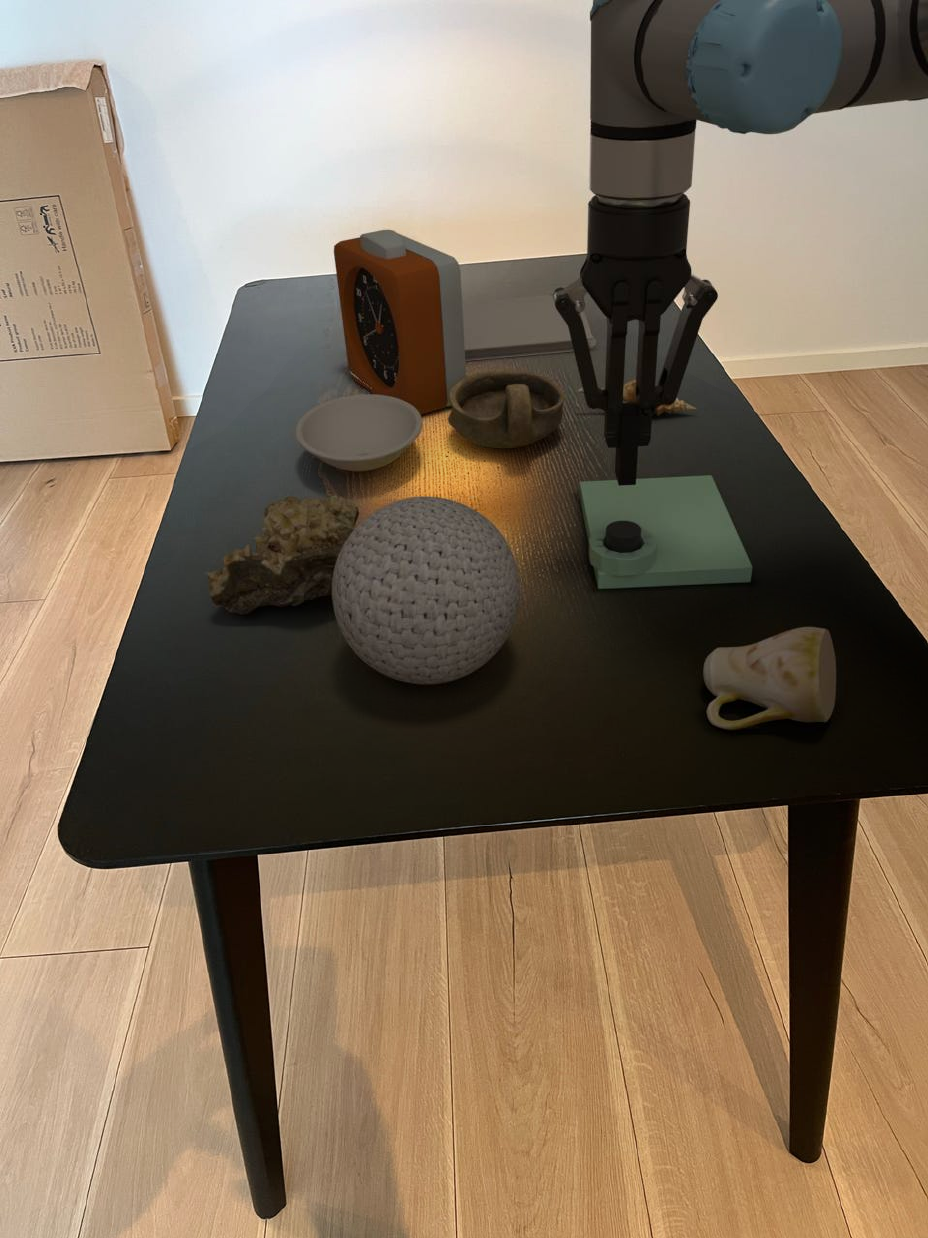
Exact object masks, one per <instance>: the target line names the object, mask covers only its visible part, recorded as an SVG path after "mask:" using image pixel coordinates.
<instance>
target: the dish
mask: <svg viewBox="0 0 928 1238" xmlns="http://www.w3.org/2000/svg"><path fill="white" fill-rule="evenodd" d="M423 422H424V421H423V418H422V414H421V415H420V413H419V412H418V410H417V409H416V408H415V407H413V406H412V405H411V404H409V403H407V402H405V401H403V400H401V399H398V398H394V397H390V396H385V395H377V394H374V393H361V394H360V393H359V394H350V395H344V396H340V397H336V398H335V397H334V398H332V399H329V400H326V401H324V402H322V403H319V404H317V405H315V406H314V407H312V408H310V409H309V410H307V411H306V412H305V413H304V414H303V415H302V416H301V417H300V419H299V420H298V422H297V424H296V426H295V438H296V440H297V443H298V444H299V445H300V447H302V448H303V449H304V450H305V451H307V452H308V453H310V454H312V455H314V456H315V457H316V458H318V459H319V460H320V461H322V462H324V463H325V464H327V465H329V466H332V467H334V468H337V469H339V470H343V471H349V472H366V471H371V470H376V469H379V468H381V467H384V466H387V465H388V464H390V463H392V462H393V461H395V460H396V459H398V458H399V457H400V456H401V455H402V454H404V452H405V451H406V450H407V449H408V448H409V446H410V445H412V444H413V443H414V442H415V441H416V440H417V439H418V438H419V436H420V434H421V433H422V429H423Z"/></svg>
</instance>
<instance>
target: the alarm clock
mask: <svg viewBox="0 0 928 1238" xmlns="http://www.w3.org/2000/svg"><path fill="white" fill-rule="evenodd" d="M333 257H334V266H335V272H336V273H335V274H336V280H337V289H338V297H339V298H338V299H339V304H340V313H341V320H342V327H343V328H342V330H343V335H344V343H345V352H346V358H347V366H348V371H349V370H350V371H351V372H352V373H353V374H355V375H356V376H357V377H358V378H359V379H360V380H361V381H362V382H361V381H360V380H359V379H357V378H356V377H354V376H353V375H351V374H350V373H349V375H350V376H351V378H352V379H353V380H354V381H355V382H356V383H358V384H359V385H360V386H362V387H364V388H365V389H366V390H368V391H369V392H371V394H377V395H385V396H390V397H394V398H398V399H401V400H403V401H405V402H407V403H409V404H411V405H412V406H413V407H415V408H416V409H417V410H418V412H419V413H420V415H421V416H422V415H425V414H427V413H431V412H434V411H437V410H442V409H445V408H448V407H452V405H451V403H450V400H449V392H450V390H451V388H452V387H454V386H455V385H456V384H457V383H458V382H460V381H461V380H463V379H464V378H466V377H467V367H466V361H465V346H464V327H463V309H462V303H463V295H462V294H463V293H462V292H463V291H462V275H461V267H460V264H459V261H458V260H457V259H456V258H455V257H454V256H452V255H450V254H447V253H445V252H443V251H440V250H438V249H435V248H433V247H431V246H428V245H426V244H424V243H422V242H419V241H417V240H414V239H412V238H410V237H408V236H405V235H403V234H401V233H398V232H396V231H395V230H393V229H381V230H380V229H379V230H377V231H376V230H375V231H371V232H365V233H362V234H360V235H359V237H354V238H349V239H344V240H340V241H338V242H337V243H336V244H334V246H333ZM363 382H364V383H365V384H364V383H363ZM366 384H367V385H368V386H369V387H368V386H367V385H366ZM370 387H371V388H372V389H371V388H370Z"/></svg>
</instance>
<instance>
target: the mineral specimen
mask: <svg viewBox="0 0 928 1238" xmlns="http://www.w3.org/2000/svg"><path fill="white" fill-rule="evenodd" d="M358 507H359V504H357V503H355V502H350V501H348V500H345V498H344V497H343V496H341V497H338V496H337V495H334V496H332V497H329V498H328V499H327V498H325V499H323V498H320V497H319V498H318V497H317V498H316V497H314V496H313V497H312V498H307V497H306V498H303V499H301V498H298V497H295V496H287V497H285V498H284V499H281V500H280V499H279V500H275V501H272V502H270V503H269V504H268V505H267V506H266V507H265V508H264V518H263V520H262V529H261V532H262V536H259V535H257V536H255V537H253V538H252V540H253V542H254V544H255V545H256V552H252V549H251V545H250V543H248V544H247V545H246V546H245V547H244V548H242V549H239V548H236V549H235V550H234V551H233V553H232V554H231V553H230V552H228V553H226V554H225V553H224V554H223V557H222V565H223V566H222V567H221V571H220V572H219V571H217V570H214V571H211V572H204V574H205V576H206V578H207V580H208V581H209V582H210V583H209V584H207V587H209V588H210V590H209V595H210V599H211V601H212V603H213V604H214V605H215V606H222V607H223V608H224V609H225V610H227V611H228V613H231V614H239V615H241V616H243V615H247V614H250V613H251V612H252V611H254V610H255V609H257V608H259V607H264V606H274V607H275V606H276V607H281V608H282V607H283V608H284V607H288V606H293V607H296V606H298V605H301V604H303V602H305V601H308V600H309V601H312V600H315V599H317V598H321V597H325V596H327V595H330V596H332V580H333V573H334V568H335V564H336V561H337V558H338V556H339V553H340V551H341V549H342V547H343V545H344V543H345V542H346V540H347V538H348V537H349V536H350V534H351V533H352V532H353V530H354V529H355V525H356V523H357V521H358V518H359V515H360V510H359V508H358Z"/></svg>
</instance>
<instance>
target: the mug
mask: <svg viewBox="0 0 928 1238" xmlns="http://www.w3.org/2000/svg"><path fill="white" fill-rule="evenodd" d="M833 643H834V642H833V640H832V636H831V633H830V631H829V630H828V629H827V628H824V627H823V628H822V627H816V626H803V627H796V628H792V629H789V630H786V631H783V632H780V633H777V634H775V635H773V636H771V637H768V638H765V639H763V640H761V641H758V642H755V643H752V644H749V645H743V646H728V647H727V646H725V647H724V646H723V647H721V646H719V647H716V648H715V649H714V650H713V651H712V652H711V653H709V654H708V655H707V657H706V658H705V660H704V663H703V668H702V677H703V682H704V684H705V686H706V689H708V691H709V692H710V693H711V694H712V695H713V696H714V697H716V698H714V699H713V700H712V701H711V702H709V703H708V706H707V709H706V717H707V720H708V721H709V723H710V724H711V725H712V726H715V727H717V728H719V729H723V730H726V731H736V730H742V729H745V728H749V727H753V726H756V725H759V724H763V723H767V722H772V721H778V720H779V721H780V720H788V719H789V720H791V721H796V722H802V723H827V722H828V721H829V720H830V719H831V716H832V714H833V712H834V708H835V704H836V697H837V695H836V693H837V661H836V659H837V658H836V652H835V648H834V644H833ZM737 700H740V701H741V700H742V701H746V702H749V703H752V704H754V705H757V706H759V707H761V708H763V709H764V711H760V712H757V713H756V714H753V715H750V716H748V717H745V718H741V719H737V720H728V719H724V718H722V717H721V716H720V709H721V707H722V706H723V705H724V704H726V703H730V702H735V701H737Z"/></svg>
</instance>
